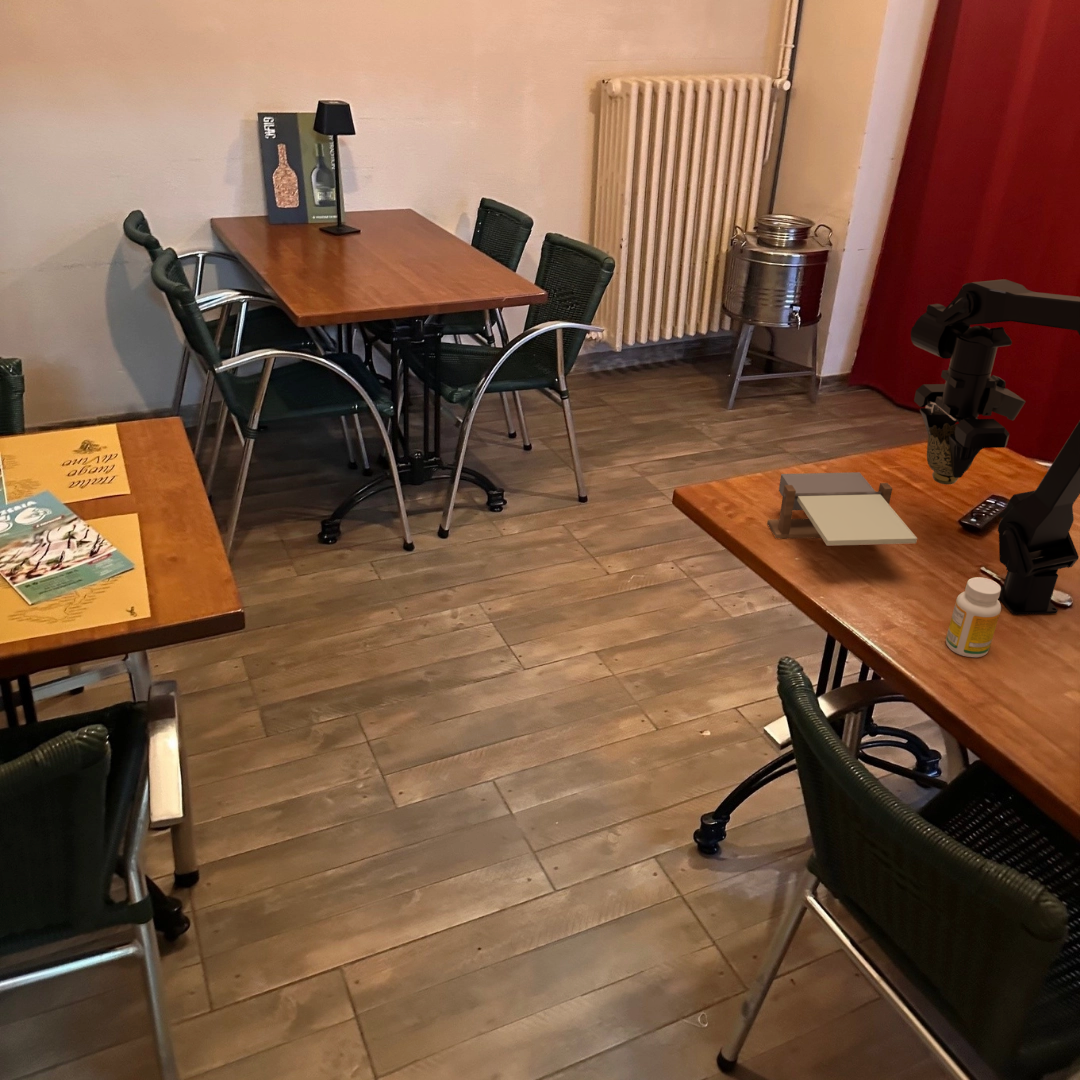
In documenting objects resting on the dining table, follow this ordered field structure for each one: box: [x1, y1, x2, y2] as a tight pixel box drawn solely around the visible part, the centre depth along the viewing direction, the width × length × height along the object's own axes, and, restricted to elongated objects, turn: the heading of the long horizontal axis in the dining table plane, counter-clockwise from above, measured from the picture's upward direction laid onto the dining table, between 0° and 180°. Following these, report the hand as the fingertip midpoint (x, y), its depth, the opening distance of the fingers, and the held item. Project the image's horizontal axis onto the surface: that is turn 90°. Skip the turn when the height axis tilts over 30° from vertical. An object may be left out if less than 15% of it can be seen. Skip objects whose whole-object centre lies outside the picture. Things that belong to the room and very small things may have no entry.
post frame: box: [766, 482, 893, 540], centre depth 155 cm, size 5×18×8 cm, turn 94°
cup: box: [926, 423, 975, 485], centre depth 148 cm, size 8×7×8 cm
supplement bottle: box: [945, 576, 1002, 658], centre depth 127 cm, size 5×5×10 cm
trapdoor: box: [778, 471, 918, 546], centre depth 150 cm, size 23×13×3 cm, turn 4°
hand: (947, 467), depth 149 cm, fingers closed on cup, 6 cm apart
